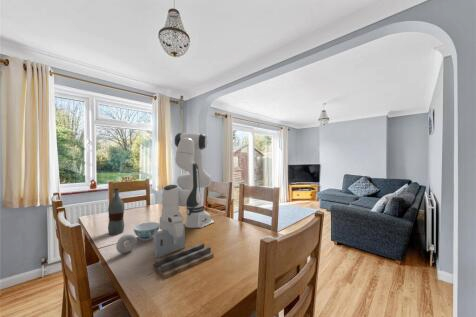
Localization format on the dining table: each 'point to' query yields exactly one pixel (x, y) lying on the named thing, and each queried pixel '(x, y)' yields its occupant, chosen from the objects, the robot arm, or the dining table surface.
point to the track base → (184, 266)
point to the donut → (122, 240)
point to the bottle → (116, 214)
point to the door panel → (167, 243)
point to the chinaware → (146, 230)
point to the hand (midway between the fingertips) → (170, 241)
